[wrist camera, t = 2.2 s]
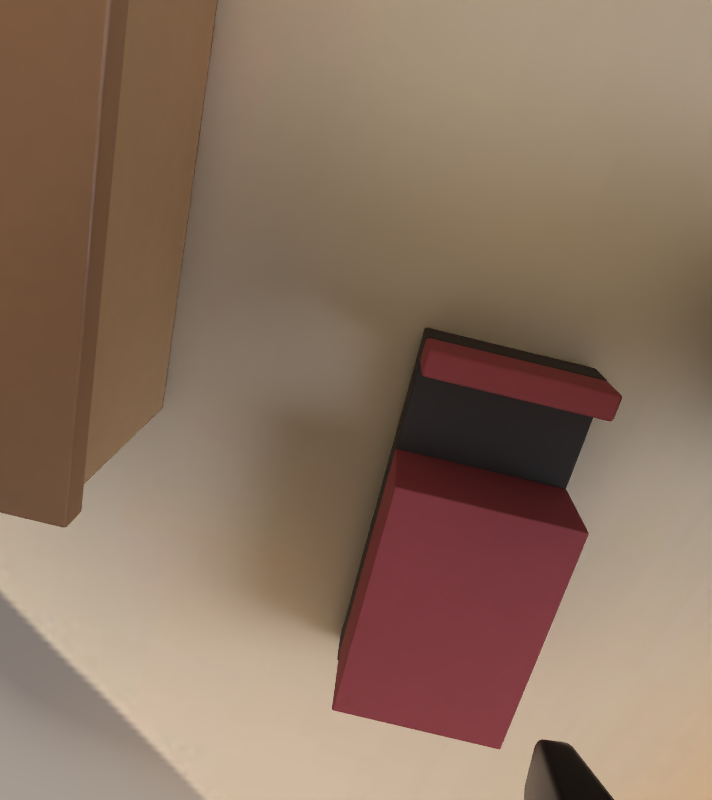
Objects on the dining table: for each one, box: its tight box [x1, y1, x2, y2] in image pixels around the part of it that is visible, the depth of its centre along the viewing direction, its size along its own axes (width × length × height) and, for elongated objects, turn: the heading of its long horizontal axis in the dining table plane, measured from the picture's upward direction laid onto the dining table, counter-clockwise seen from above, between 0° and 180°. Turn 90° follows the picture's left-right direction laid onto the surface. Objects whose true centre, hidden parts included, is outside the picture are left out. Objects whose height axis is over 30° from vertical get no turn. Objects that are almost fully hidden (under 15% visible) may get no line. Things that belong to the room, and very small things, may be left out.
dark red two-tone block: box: [332, 328, 622, 749], centre depth 20 cm, size 5×12×4 cm, turn 167°
